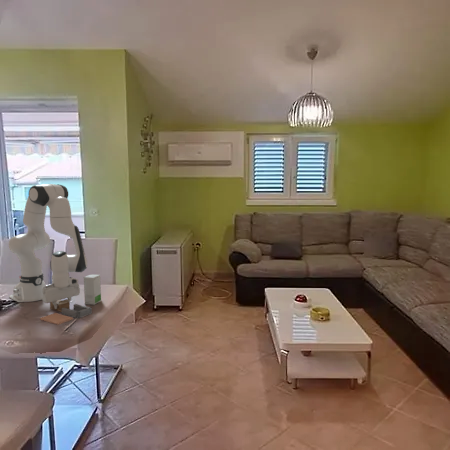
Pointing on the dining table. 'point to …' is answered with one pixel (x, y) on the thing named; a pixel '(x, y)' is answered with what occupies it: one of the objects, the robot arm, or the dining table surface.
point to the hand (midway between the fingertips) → (62, 306)
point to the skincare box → (92, 289)
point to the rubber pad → (56, 318)
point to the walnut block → (60, 305)
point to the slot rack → (77, 311)
